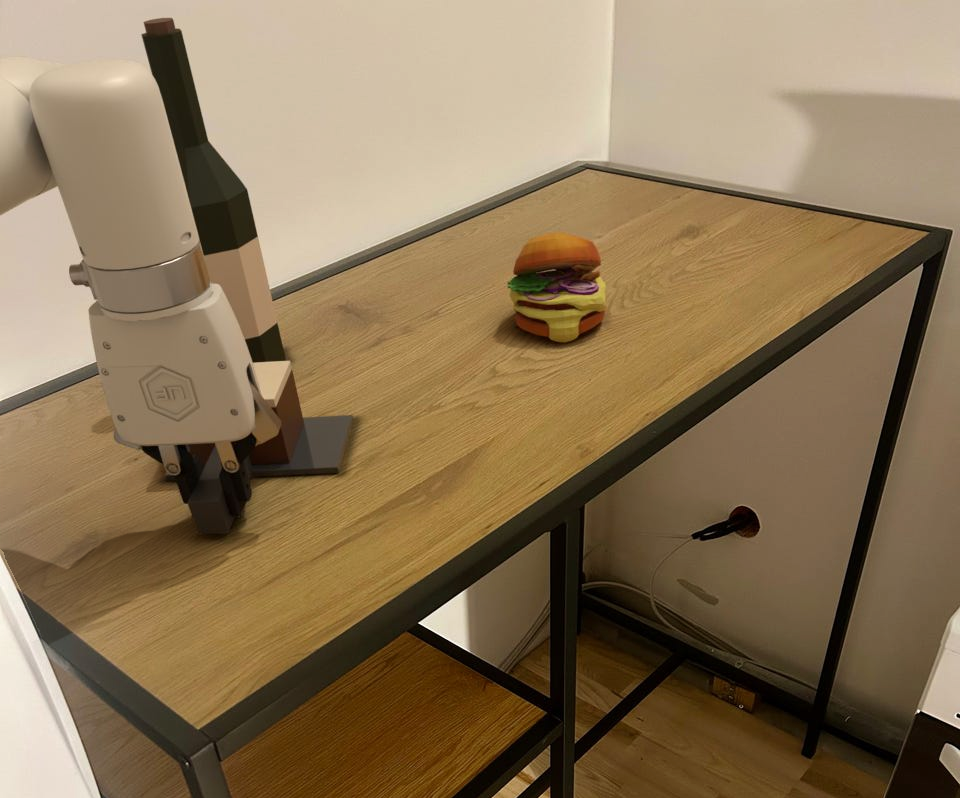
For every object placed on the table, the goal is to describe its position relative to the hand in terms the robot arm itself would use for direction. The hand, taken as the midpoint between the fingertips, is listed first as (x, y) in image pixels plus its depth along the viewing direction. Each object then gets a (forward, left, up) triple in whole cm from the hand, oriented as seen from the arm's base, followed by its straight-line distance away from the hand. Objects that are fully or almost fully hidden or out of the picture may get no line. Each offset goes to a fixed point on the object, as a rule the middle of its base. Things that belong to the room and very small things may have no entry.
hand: (221, 506), depth 76 cm
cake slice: (+2, +10, 0) cm, 11 cm away
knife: (0, +6, 0) cm, 6 cm away
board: (+1, +10, -1) cm, 11 cm away
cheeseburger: (+27, +34, -1) cm, 44 cm away
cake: (-3, +11, 0) cm, 11 cm away
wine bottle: (-5, +28, -1) cm, 28 cm away
